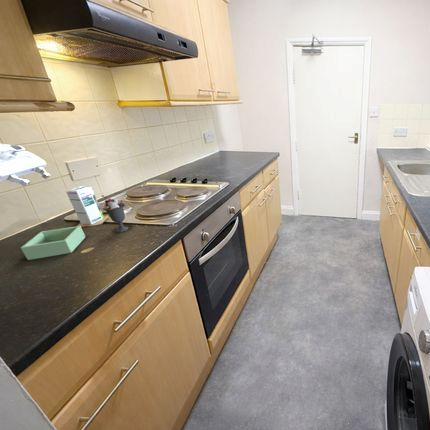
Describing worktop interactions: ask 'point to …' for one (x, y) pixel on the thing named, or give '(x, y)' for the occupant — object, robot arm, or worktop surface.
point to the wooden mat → (94, 223)
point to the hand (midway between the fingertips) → (38, 180)
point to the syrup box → (85, 204)
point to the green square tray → (53, 242)
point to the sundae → (115, 212)
